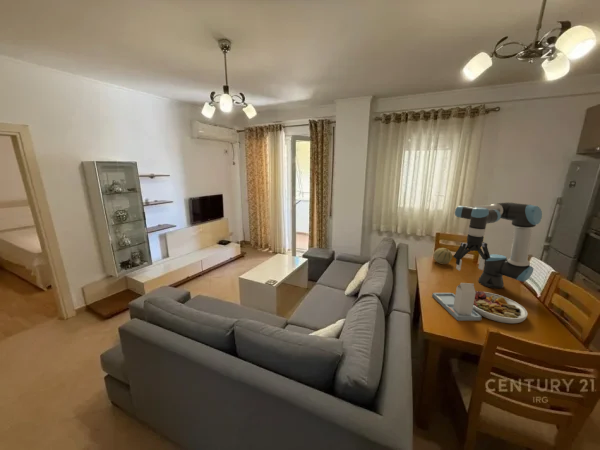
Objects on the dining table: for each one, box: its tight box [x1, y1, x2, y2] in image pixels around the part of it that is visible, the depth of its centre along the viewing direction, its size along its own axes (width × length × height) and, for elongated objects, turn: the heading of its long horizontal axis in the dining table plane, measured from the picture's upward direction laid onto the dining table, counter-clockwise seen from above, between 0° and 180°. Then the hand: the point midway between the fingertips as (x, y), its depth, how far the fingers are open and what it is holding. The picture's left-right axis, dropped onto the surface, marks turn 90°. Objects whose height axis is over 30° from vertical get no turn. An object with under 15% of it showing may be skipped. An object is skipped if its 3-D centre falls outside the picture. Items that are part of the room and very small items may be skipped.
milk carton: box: [453, 282, 476, 315], centre depth 146 cm, size 7×7×19 cm
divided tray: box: [431, 292, 483, 322], centre depth 154 cm, size 14×27×3 cm, turn 1°
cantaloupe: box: [433, 247, 453, 265], centre depth 221 cm, size 15×15×15 cm
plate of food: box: [473, 290, 528, 324], centre depth 150 cm, size 30×30×8 cm
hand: (469, 269), depth 142 cm, fingers open, 13 cm apart
